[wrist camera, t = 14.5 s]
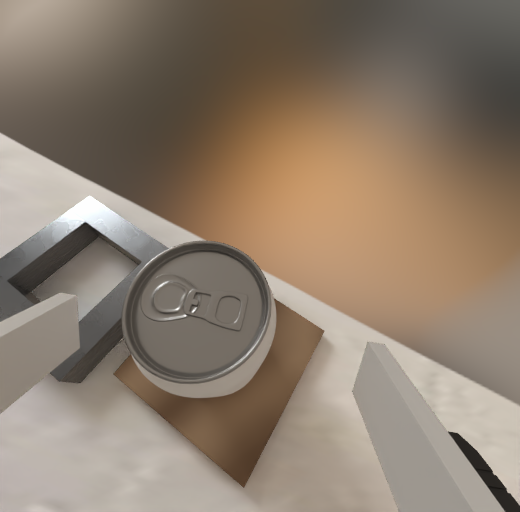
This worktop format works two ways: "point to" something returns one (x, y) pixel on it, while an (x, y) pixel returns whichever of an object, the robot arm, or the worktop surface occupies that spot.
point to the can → (199, 319)
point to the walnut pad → (237, 399)
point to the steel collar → (57, 254)
